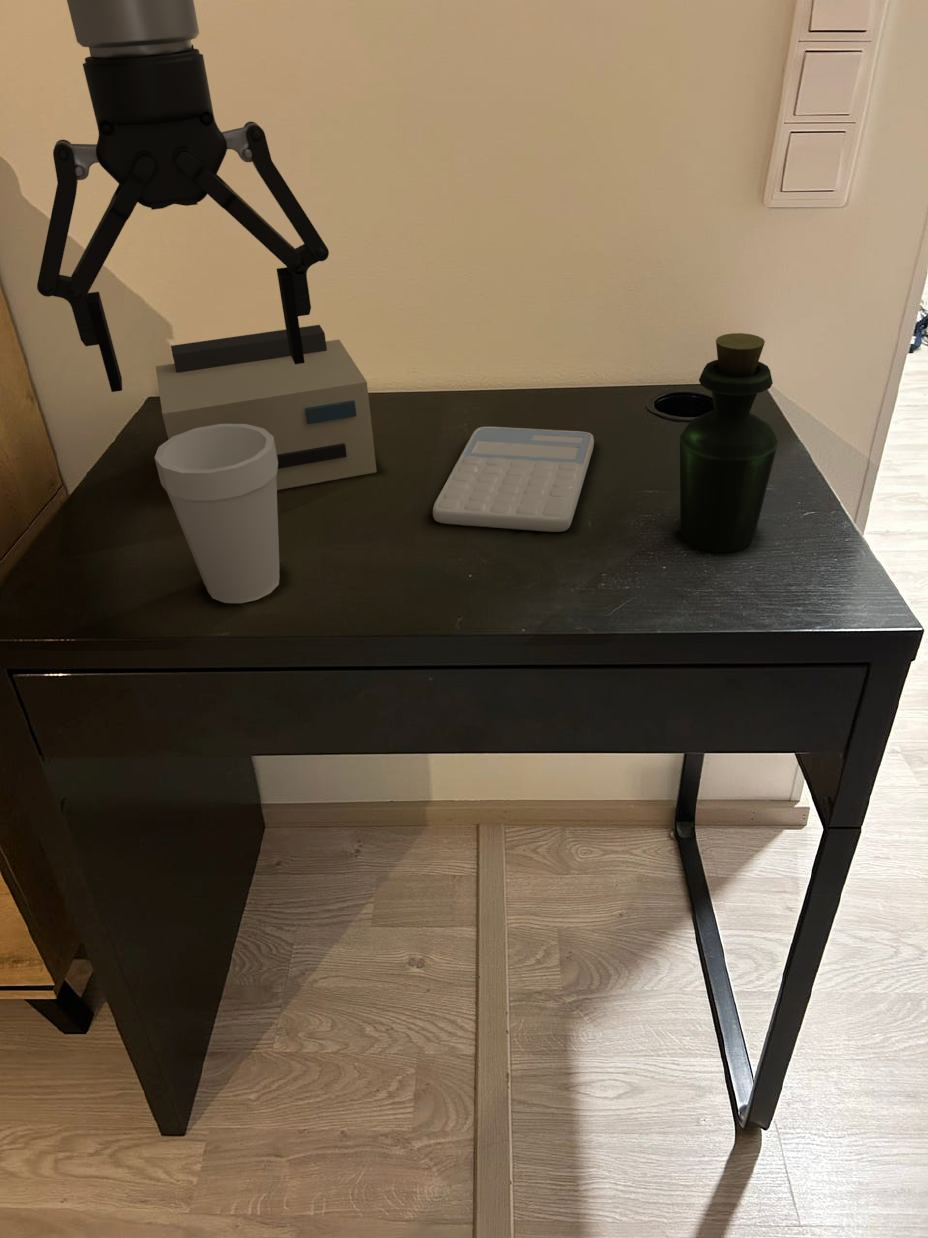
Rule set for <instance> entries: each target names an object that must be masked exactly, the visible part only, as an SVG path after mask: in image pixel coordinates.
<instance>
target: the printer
mask: <svg viewBox="0 0 928 1238" xmlns="http://www.w3.org/2000/svg"><path fill="white" fill-rule="evenodd" d="M299 328H300V334H301V341H302V348H303V354H304V361H305V363H301V364H295V363H294V361H293V359H292V357H291V355H290V351H289V345H288V339H287V332H286V328H285V329H277V330H273V331H272V330H271V331H265V332H257V333H251V334H250V333H249V334H244V335H236V336H230V337H222V338H215V339H209V340H202V341H201V340H200V341H195V342H186V343H180V344H173V345H170V351H171V355H172V359H173V363H168V364H162V365H161V364H160V365H156V366H155V371H156V378H157V387H158V394H159V401H160V408H161V415H162V420H163V424H164V426H165V431H166V436H167V439H168V440H169V439H170V438H172V437H173V436H176V435H178V434H181V433H184V432H187V431H189V430H192V429H195V428H200V427H206V426H211V425H217V424H248V425H252V426H256V427H260V428H264V429H265V430H266V431H267V432H269V433H270V434H271V435H272V436H273V437H274V441H275V447H276V453H277V459H278V469H277V475H276V481H277V491H280V490H284V489H285V490H286V489H291V488H296V487H304V486H309V485H313V484H319V483H324V482H330V481H335V480H342V479H347V478H353V477H358V476H364V475H368V474H369V475H370V474H376V473H377V461H376V453H375V443H374V434H373V425H372V417H371V408H370V398H369V397H370V396H369V390H368V389H369V387H368V381H367V380H366V378H365V377H364V375H363V374H362V371H360V369H359V368H358V366H357V364H356V362H355V361H354V360H353V358H352V357H351V355H350V353H349V352H348V350H347V349H346V347H345V346H344V345H343V343H342V341H341V340H340V339H334V340H326V334H325V331H324V330H323V328H322V326H321V325H320V324H314V325H308V326H307V325H306V326H301V327H300V326H299ZM168 440H167V441H168Z"/></svg>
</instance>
